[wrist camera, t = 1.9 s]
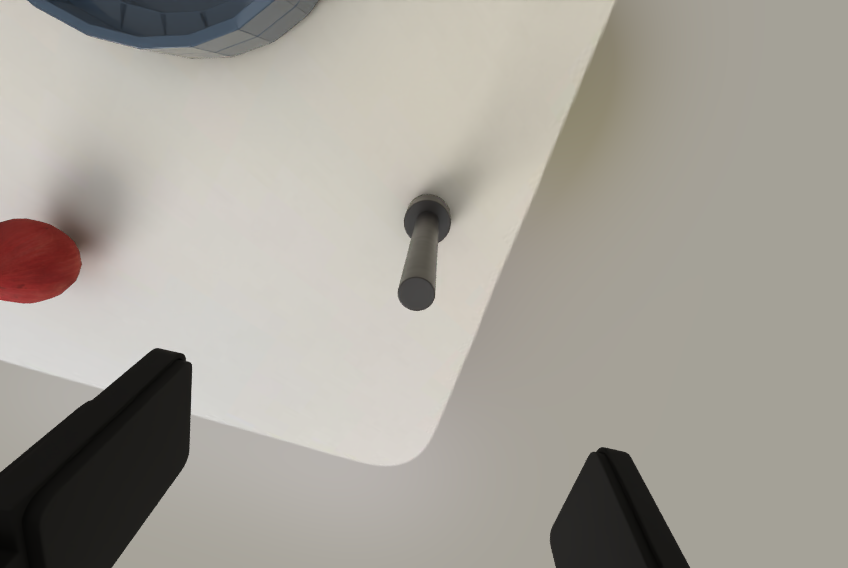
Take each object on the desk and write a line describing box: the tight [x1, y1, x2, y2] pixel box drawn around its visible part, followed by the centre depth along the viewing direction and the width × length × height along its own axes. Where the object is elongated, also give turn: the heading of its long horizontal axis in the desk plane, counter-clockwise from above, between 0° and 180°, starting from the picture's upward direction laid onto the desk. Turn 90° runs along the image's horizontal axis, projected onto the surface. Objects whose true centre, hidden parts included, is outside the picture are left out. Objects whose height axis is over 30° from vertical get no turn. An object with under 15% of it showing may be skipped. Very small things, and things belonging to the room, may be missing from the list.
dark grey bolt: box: [398, 194, 451, 311], centre depth 25 cm, size 3×3×14 cm
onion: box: [0, 219, 82, 303], centre depth 30 cm, size 6×6×8 cm
